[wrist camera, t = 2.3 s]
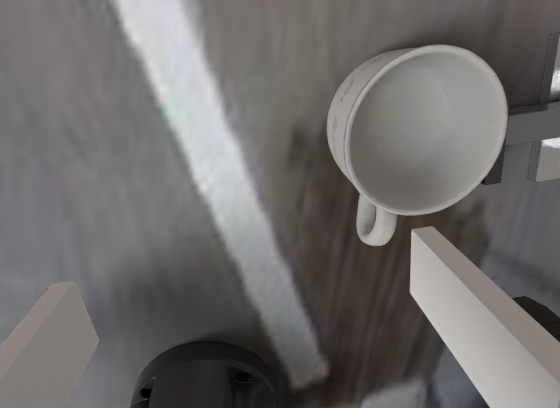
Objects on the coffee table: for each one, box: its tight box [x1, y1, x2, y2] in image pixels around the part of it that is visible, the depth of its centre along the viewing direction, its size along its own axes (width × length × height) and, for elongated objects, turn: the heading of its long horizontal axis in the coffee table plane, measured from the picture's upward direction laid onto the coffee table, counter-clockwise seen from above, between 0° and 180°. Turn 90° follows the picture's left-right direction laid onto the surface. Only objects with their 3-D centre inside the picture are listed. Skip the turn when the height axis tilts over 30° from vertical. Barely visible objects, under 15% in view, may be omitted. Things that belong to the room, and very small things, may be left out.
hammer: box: [480, 83, 560, 185], centre depth 28 cm, size 13×7×6 cm, turn 97°
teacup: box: [327, 44, 508, 246], centre depth 26 cm, size 14×11×8 cm
